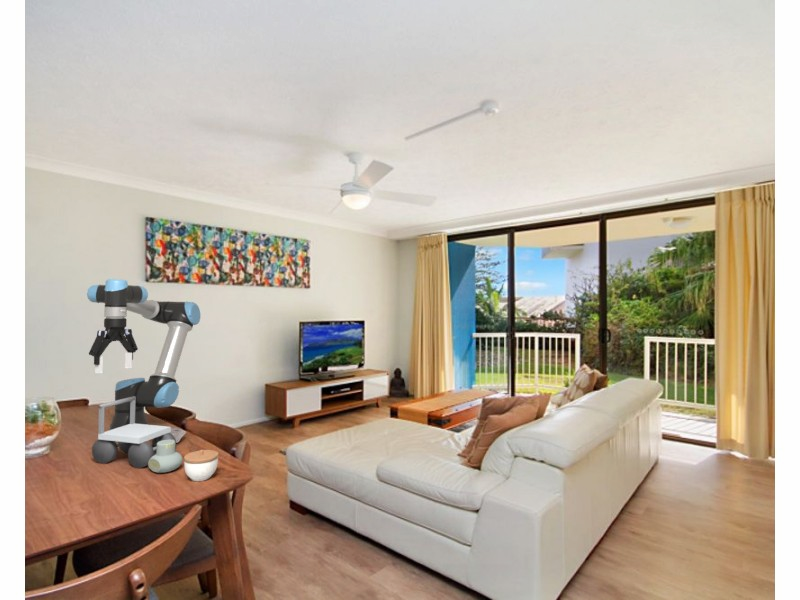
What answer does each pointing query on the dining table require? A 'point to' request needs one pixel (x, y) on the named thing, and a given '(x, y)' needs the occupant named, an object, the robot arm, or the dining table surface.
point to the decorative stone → (177, 433)
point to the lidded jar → (201, 464)
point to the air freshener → (165, 457)
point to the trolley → (128, 438)
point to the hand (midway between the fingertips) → (114, 370)
